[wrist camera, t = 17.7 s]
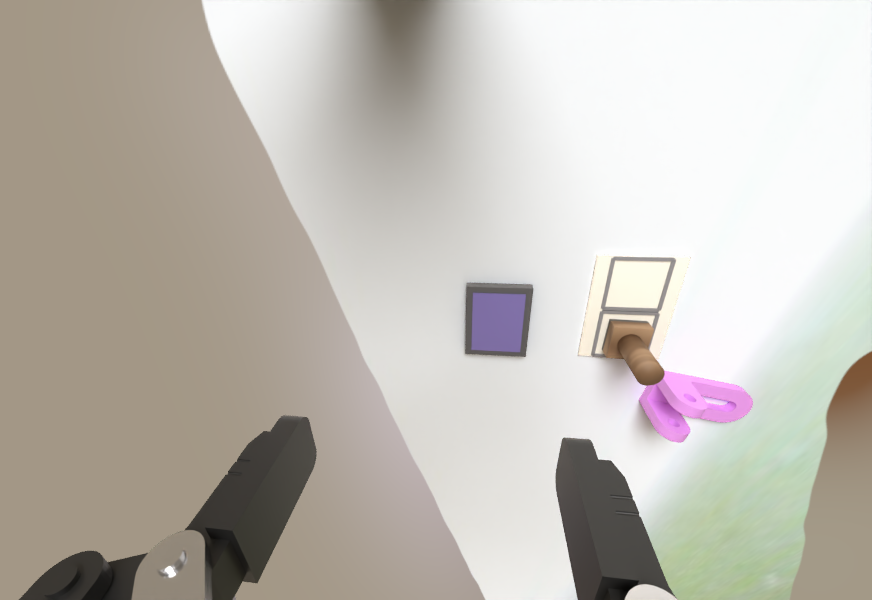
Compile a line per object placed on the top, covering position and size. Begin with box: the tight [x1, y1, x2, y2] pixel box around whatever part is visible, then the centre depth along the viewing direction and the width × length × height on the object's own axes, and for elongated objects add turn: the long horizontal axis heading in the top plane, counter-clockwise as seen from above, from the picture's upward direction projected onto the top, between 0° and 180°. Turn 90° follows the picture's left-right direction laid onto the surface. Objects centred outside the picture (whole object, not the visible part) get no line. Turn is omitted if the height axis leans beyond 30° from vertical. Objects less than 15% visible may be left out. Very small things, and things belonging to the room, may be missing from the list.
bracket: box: [639, 371, 753, 442], centre depth 45 cm, size 13×6×7 cm, turn 81°
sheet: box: [578, 255, 691, 359], centre depth 43 cm, size 14×10×1 cm
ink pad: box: [465, 283, 533, 357], centre depth 46 cm, size 10×8×1 cm
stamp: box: [602, 319, 665, 386], centre depth 41 cm, size 4×4×8 cm
